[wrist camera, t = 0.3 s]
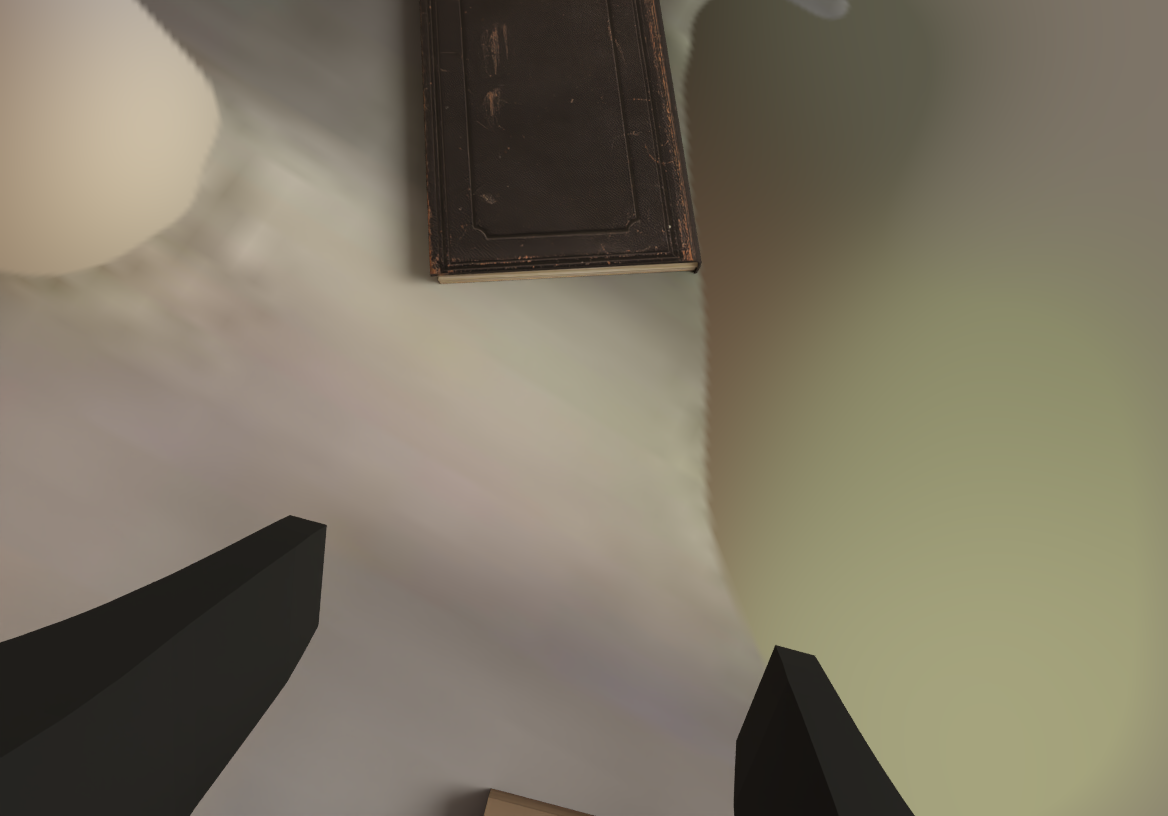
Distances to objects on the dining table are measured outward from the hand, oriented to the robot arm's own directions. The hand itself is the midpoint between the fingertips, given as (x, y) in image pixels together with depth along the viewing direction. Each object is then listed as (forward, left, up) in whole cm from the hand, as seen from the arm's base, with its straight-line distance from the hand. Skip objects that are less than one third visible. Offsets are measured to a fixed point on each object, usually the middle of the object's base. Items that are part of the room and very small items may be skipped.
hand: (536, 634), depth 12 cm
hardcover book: (+32, +7, -30) cm, 44 cm away
